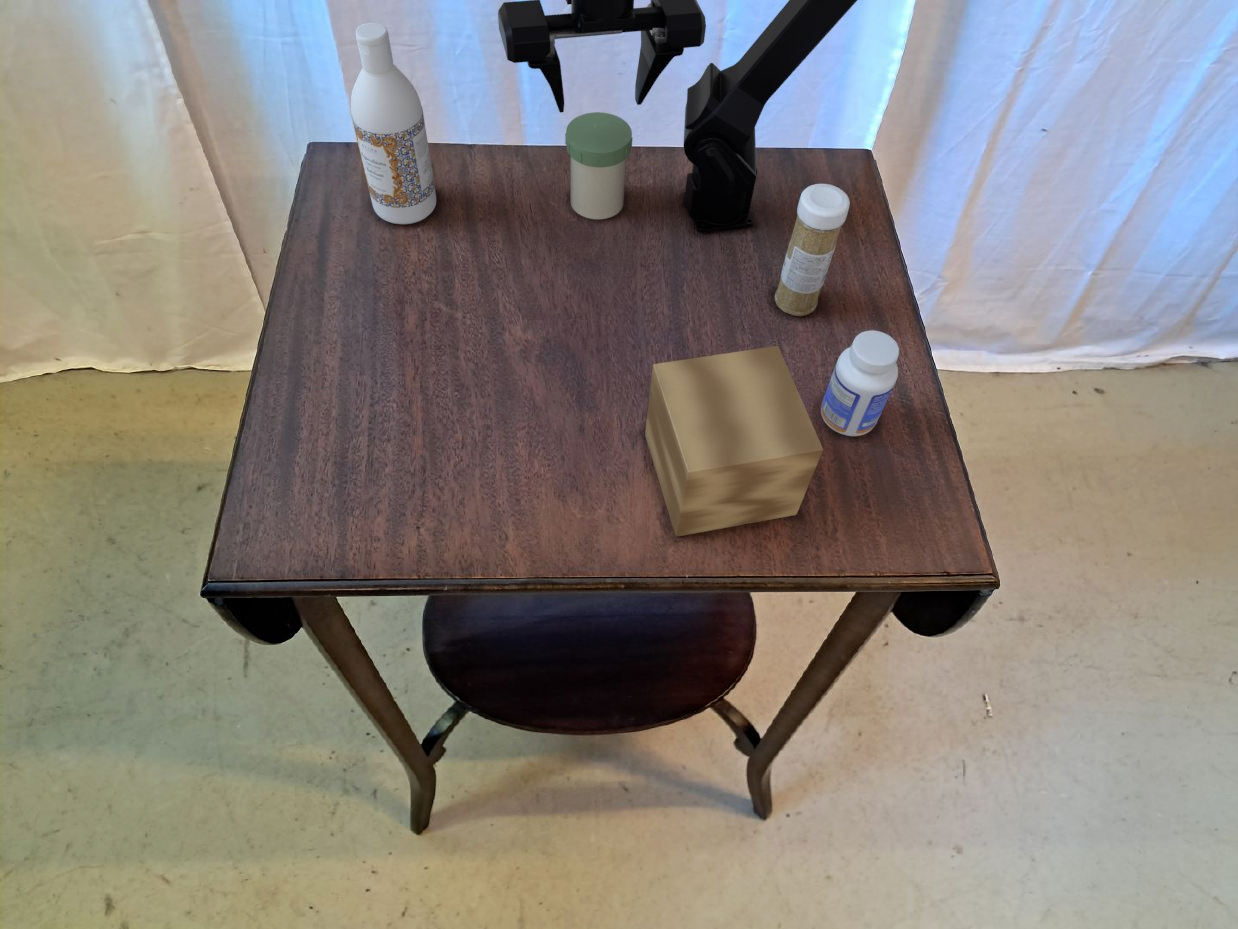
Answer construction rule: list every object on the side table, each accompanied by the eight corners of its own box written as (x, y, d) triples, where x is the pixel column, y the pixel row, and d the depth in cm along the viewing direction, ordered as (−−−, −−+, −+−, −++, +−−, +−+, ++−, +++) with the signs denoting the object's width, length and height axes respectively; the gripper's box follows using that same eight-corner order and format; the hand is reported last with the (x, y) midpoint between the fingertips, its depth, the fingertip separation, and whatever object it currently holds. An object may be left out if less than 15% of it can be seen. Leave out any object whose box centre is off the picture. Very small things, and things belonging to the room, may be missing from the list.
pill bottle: (874, 396, 85) (906, 326, 77) (878, 441, 82) (911, 373, 74) (818, 390, 85) (843, 320, 77) (819, 435, 82) (846, 367, 74)
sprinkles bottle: (785, 280, 93) (814, 174, 82) (824, 298, 92) (859, 193, 81) (765, 306, 91) (792, 201, 80) (805, 325, 90) (838, 220, 79)
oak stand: (757, 416, 83) (778, 345, 75) (796, 515, 77) (823, 449, 69) (644, 434, 81) (652, 363, 73) (675, 537, 75) (688, 472, 67)
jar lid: (622, 123, 95) (623, 109, 94) (637, 163, 92) (638, 148, 90) (560, 130, 94) (560, 115, 93) (573, 170, 91) (573, 155, 89)
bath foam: (360, 210, 96) (316, 34, 80) (400, 177, 100) (366, 1, 83) (410, 235, 95) (375, 60, 78) (449, 200, 98) (424, 25, 81)
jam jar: (617, 181, 101) (620, 115, 94) (629, 216, 98) (633, 150, 91) (565, 187, 100) (565, 120, 93) (576, 222, 97) (576, 156, 90)
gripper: (683, -106, 82) (668, 53, 95) (483, -94, 79) (495, 68, 92) (717, -46, 76) (696, 115, 89) (502, -30, 73) (512, 134, 86)
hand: (599, 105), depth 89 cm, fingers open, 8 cm apart
